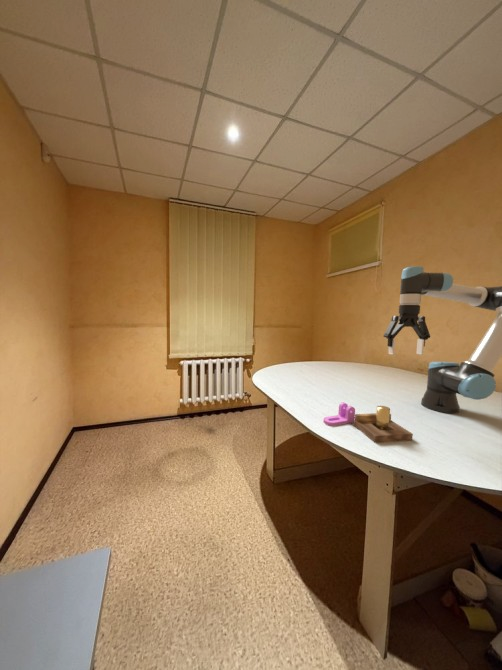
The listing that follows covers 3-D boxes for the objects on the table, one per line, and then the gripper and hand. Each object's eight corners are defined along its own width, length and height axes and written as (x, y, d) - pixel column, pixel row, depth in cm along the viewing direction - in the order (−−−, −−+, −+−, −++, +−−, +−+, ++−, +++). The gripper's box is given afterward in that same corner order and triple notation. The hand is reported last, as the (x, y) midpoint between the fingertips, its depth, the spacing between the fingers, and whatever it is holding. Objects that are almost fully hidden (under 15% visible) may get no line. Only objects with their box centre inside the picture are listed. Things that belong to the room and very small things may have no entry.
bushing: (382, 429, 98) (384, 405, 97) (390, 435, 93) (392, 409, 92) (372, 430, 97) (374, 405, 96) (380, 435, 93) (382, 410, 92)
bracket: (345, 417, 109) (345, 401, 109) (354, 422, 104) (355, 406, 103) (320, 421, 105) (321, 405, 104) (329, 426, 99) (330, 410, 99)
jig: (387, 424, 103) (388, 412, 102) (412, 440, 90) (413, 427, 89) (354, 425, 100) (355, 414, 100) (374, 442, 88) (375, 429, 87)
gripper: (428, 305, 109) (423, 352, 111) (376, 304, 105) (373, 352, 108) (443, 305, 102) (438, 355, 104) (388, 303, 98) (385, 356, 100)
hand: (405, 354), depth 106 cm, fingers open, 13 cm apart
